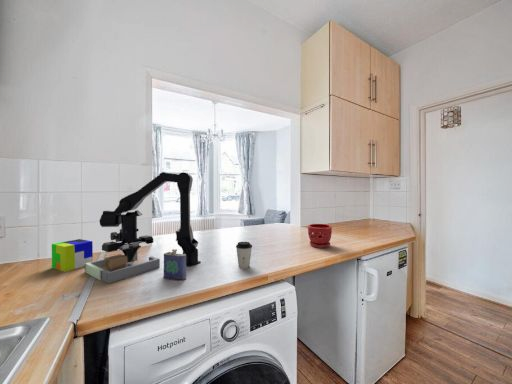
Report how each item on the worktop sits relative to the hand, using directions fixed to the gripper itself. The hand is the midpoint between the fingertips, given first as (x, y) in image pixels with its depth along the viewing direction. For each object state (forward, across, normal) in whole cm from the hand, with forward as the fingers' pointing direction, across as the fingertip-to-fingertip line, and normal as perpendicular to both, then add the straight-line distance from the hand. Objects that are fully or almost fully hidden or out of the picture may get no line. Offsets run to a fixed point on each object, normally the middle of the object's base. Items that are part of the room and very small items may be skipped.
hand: (129, 263), depth 94 cm
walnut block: (+1, +5, 0) cm, 5 cm away
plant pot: (+1, -78, +57) cm, 96 cm away
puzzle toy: (+2, +14, -20) cm, 24 cm away
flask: (+1, -3, +27) cm, 27 cm away
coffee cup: (+1, -27, +41) cm, 49 cm away
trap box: (+1, +3, +3) cm, 4 cm away
